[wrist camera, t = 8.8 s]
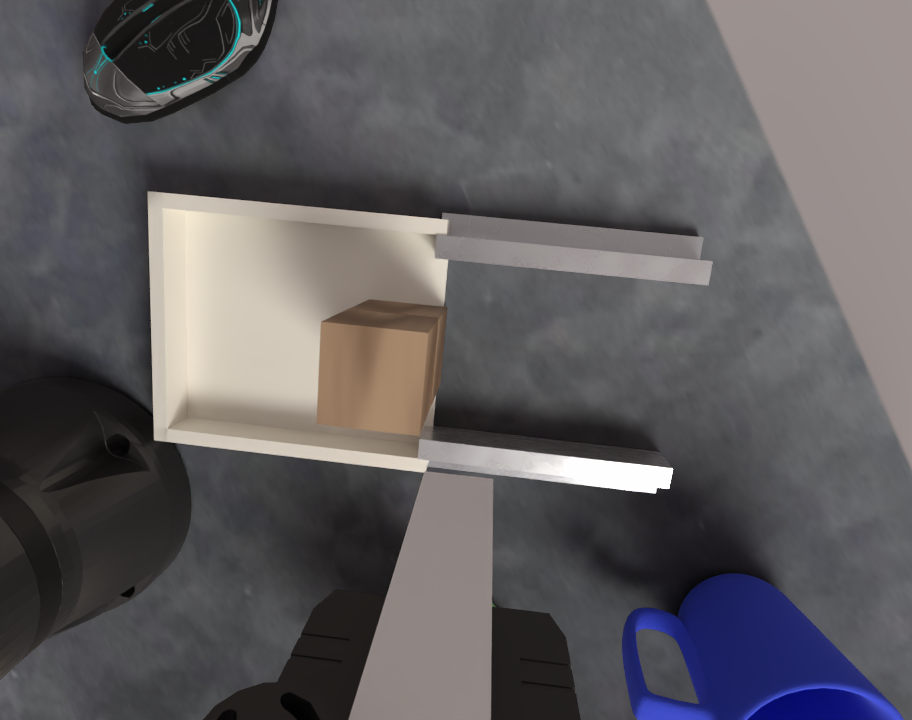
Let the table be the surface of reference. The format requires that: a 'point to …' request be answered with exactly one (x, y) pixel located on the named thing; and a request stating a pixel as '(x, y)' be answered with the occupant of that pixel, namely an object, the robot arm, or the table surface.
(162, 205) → the tray
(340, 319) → the brown shipping carton
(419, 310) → the tan cardboard cube
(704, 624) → the mug
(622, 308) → the table surface
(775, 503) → the table surface
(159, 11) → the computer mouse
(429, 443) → the slot rails
